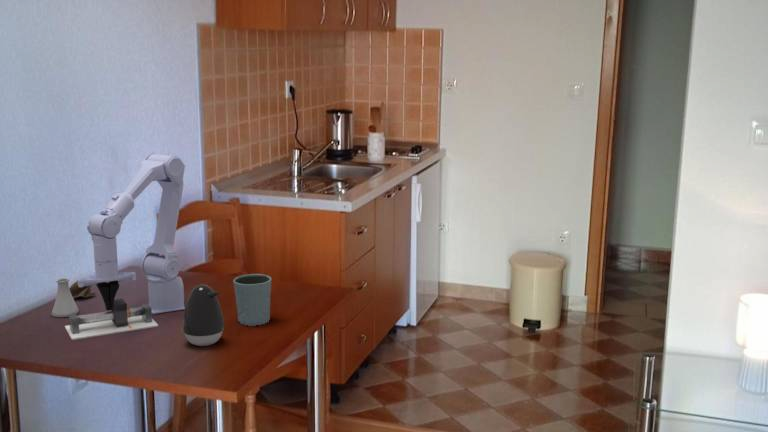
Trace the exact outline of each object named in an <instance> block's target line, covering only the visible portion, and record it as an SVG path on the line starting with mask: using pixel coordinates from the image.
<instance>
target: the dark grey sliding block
mask: <svg viewBox="0 0 768 432" xmlns="http://www.w3.org/2000/svg"><path fill="white" fill-rule="evenodd" d="M127 308H128V304H127V303H126V301H125V300H124V299H123V298H118V299H114V302H113V307H112V310H110V311H115V320H112V321H113V323H114V324H115V325H116V327H117V326H123V325H128V318H127Z"/></svg>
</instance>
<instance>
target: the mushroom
mask: <svg viewBox="0 0 768 432" xmlns="http://www.w3.org/2000/svg"><path fill="white" fill-rule="evenodd" d="M93 286H94V285H89V286H83V287H79V286H78V280H76V281H75V282H73V283H72V284H71V286H69V289H70V292H71V295H72V297H73V299H76V298H79V297H83V298H84V299H86V298H87V299H88V298H91V297H92V296H94V295H95V293H96V292H94V291H92V290H91V287H93Z"/></svg>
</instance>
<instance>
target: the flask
mask: <svg viewBox="0 0 768 432" xmlns="http://www.w3.org/2000/svg"><path fill="white" fill-rule="evenodd" d="M69 282H70V278H67V277H65V278H62V277H61V278H57V279H56V283H57V294H56V296H55V297H56V298H55V301H54V305H53V308H52V310H51V314H50V316H51V317H56V318H69V315H70V314H76V315H79V314H78V313H79V312H80V309H79V307H78V305H77V303H76V301H75V298H73V297H72V295H71V292H70V289H69V288H70V286H69Z"/></svg>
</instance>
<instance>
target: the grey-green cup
mask: <svg viewBox="0 0 768 432" xmlns="http://www.w3.org/2000/svg"><path fill="white" fill-rule="evenodd" d="M232 282H233V288H234V295H235V303H236V309H237V311H236V313H237V321H238V323H239V322H240V323H241V324H240V323H239V324H240V325H242V324H244V325H243V326H246V325H248V326H249V327H257V326H256V325H259V326H262V325H261V324H263V325H266V324H268V323H269V322H270V321H271V309H270V308H271V294H272V291H271V290H272V277H271V276H269V275H267V274H264V273H263V274H262V273H261V274H260V273H250V274H249V273H248V274H243V275H242V274H241V275H239V276H236V277H235V278H234V279H233V281H232ZM269 320H270V321H269ZM267 322H268V323H267ZM265 323H266V324H265ZM248 326H247V327H248Z"/></svg>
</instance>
